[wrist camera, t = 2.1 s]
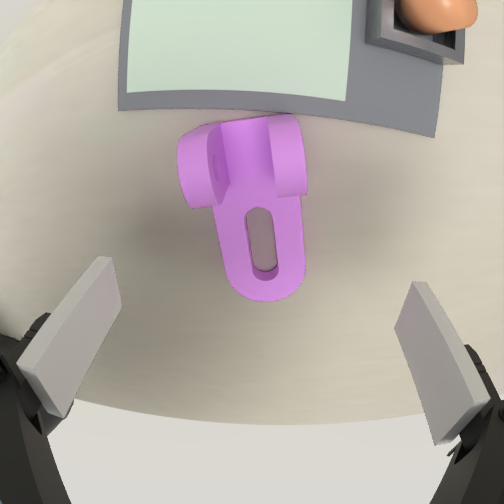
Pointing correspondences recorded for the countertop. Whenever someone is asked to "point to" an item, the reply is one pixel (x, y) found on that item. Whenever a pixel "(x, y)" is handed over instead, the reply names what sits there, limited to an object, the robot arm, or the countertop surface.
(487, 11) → the countertop surface
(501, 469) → the robot arm
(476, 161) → the countertop surface
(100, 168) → the countertop surface
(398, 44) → the button housing
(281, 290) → the bracket
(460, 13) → the button
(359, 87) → the grey flat plate
